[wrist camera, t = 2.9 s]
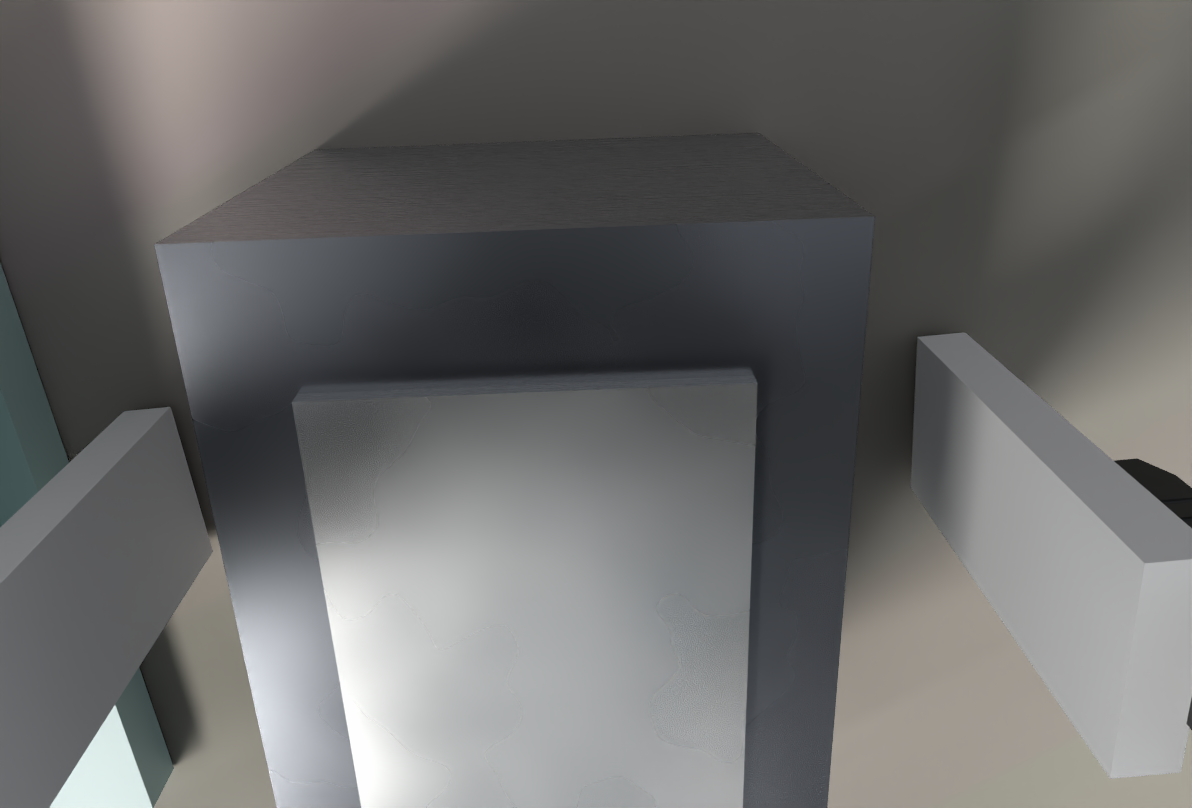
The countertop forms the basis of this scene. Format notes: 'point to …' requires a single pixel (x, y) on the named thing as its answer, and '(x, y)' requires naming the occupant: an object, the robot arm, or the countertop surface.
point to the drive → (533, 467)
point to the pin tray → (4, 485)
